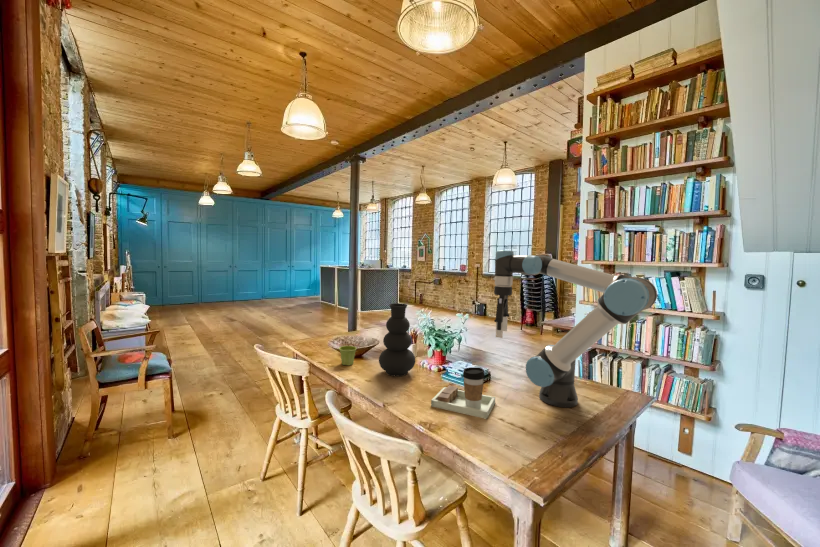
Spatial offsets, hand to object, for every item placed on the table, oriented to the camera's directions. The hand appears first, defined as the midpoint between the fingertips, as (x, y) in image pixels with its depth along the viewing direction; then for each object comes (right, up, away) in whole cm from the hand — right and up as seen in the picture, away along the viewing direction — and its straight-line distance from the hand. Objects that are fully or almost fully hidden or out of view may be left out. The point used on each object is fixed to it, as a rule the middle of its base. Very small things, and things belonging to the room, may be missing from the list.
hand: (501, 334), depth 153 cm
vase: (-47, -24, +23) cm, 58 cm away
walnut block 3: (-23, -25, -6) cm, 35 cm away
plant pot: (-74, -23, +36) cm, 85 cm away
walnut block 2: (-25, -26, -10) cm, 37 cm away
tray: (-19, -27, -13) cm, 35 cm away
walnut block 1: (-27, -26, -14) cm, 40 cm away
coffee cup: (-15, -26, -15) cm, 34 cm away
